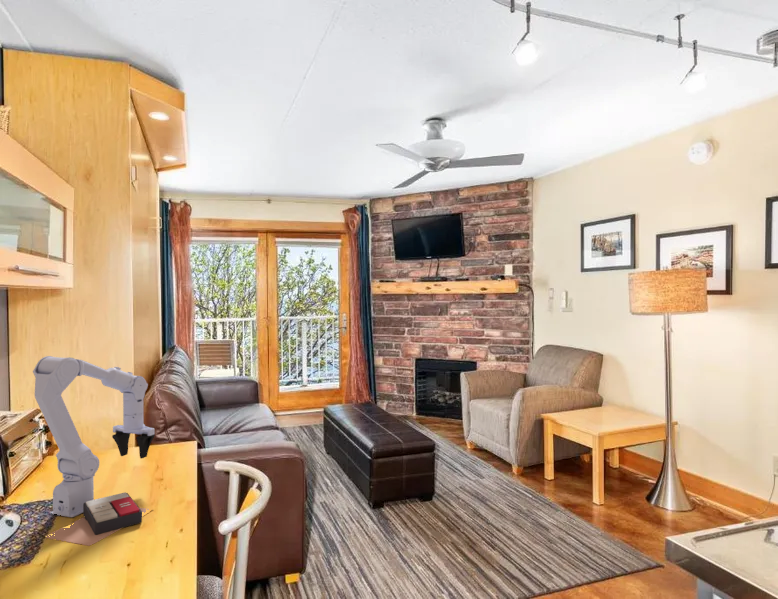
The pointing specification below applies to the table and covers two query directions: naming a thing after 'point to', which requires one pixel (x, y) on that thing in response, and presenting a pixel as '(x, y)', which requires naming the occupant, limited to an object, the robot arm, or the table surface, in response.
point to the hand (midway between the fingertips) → (133, 456)
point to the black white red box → (111, 513)
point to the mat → (81, 533)
